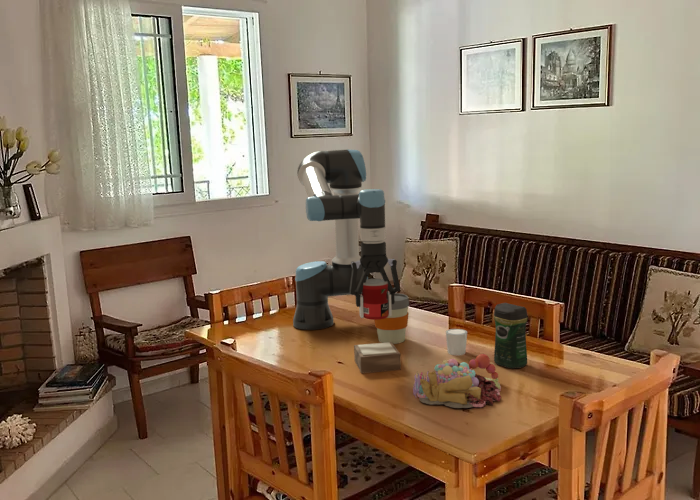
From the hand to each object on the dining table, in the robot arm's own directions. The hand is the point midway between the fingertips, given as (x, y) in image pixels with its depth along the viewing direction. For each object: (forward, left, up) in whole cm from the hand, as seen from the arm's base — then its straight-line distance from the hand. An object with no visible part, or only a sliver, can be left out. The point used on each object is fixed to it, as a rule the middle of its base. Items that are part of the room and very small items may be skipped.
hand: (375, 315), depth 207 cm
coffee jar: (+10, +39, -16) cm, 43 cm away
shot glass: (-5, +27, -16) cm, 32 cm away
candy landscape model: (+27, +17, -16) cm, 36 cm away
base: (0, 0, -16) cm, 16 cm away
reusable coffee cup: (-24, +10, -16) cm, 31 cm away
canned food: (0, 0, 0) cm, 0 cm away
